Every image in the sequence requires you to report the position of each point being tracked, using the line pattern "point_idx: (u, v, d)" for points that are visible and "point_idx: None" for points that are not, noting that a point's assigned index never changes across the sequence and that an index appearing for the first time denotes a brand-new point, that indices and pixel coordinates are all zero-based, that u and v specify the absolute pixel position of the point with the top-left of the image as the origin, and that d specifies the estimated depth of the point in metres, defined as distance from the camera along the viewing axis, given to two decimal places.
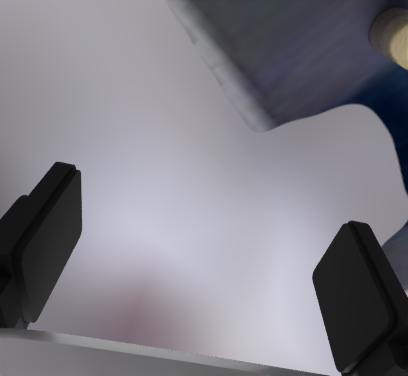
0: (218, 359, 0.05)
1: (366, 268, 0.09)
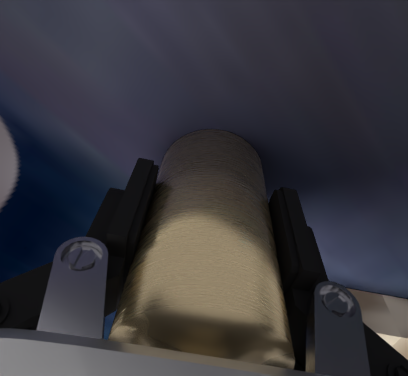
0: (218, 359, 0.05)
1: (283, 226, 0.10)
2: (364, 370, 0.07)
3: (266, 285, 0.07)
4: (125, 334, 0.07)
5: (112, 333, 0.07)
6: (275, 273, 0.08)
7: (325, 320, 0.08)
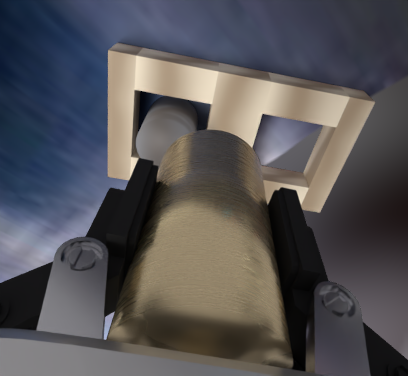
0: (218, 359, 0.05)
1: (283, 226, 0.10)
2: (364, 370, 0.07)
3: (264, 285, 0.08)
4: (123, 334, 0.07)
5: (110, 333, 0.07)
6: (273, 273, 0.08)
7: (325, 320, 0.08)
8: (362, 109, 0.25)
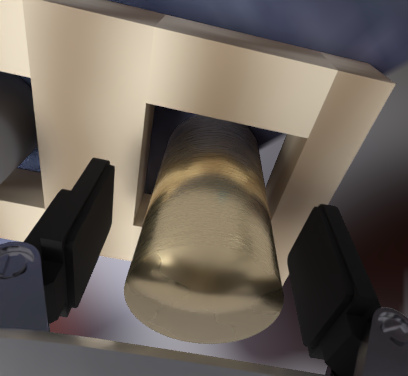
0: (218, 359, 0.05)
1: (330, 246, 0.10)
2: None
3: (259, 234, 0.09)
4: (141, 273, 0.08)
5: (130, 272, 0.08)
6: (268, 228, 0.10)
7: (380, 344, 0.07)
8: (365, 100, 0.11)
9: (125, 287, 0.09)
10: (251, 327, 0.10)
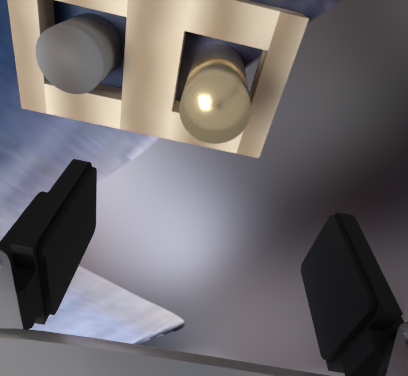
0: (218, 359, 0.05)
1: (350, 257, 0.10)
2: None
3: (240, 80, 0.20)
4: (188, 93, 0.19)
5: (183, 93, 0.19)
6: (245, 83, 0.21)
7: (404, 358, 0.07)
8: (295, 28, 0.22)
9: (180, 103, 0.20)
10: (237, 130, 0.21)
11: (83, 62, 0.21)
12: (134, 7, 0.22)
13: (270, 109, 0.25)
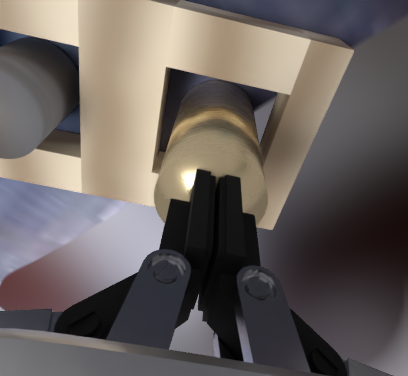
0: (218, 359, 0.05)
1: (219, 211, 0.10)
2: (271, 351, 0.07)
3: (251, 152, 0.12)
4: (167, 177, 0.12)
5: (159, 177, 0.12)
6: (257, 153, 0.13)
7: (253, 310, 0.08)
8: (332, 63, 0.14)
9: (155, 190, 0.12)
10: None
11: (10, 117, 0.14)
12: (89, 32, 0.14)
13: (290, 171, 0.18)
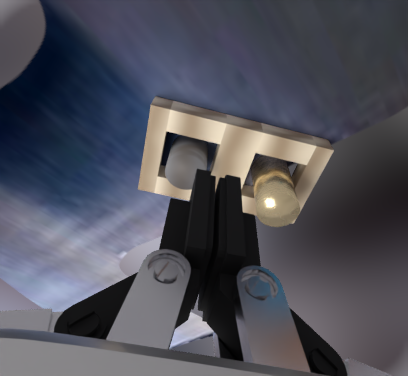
0: (218, 359, 0.05)
1: (219, 211, 0.10)
2: (271, 351, 0.07)
3: (294, 192, 0.33)
4: (264, 201, 0.33)
5: (261, 201, 0.33)
6: (295, 192, 0.34)
7: (253, 310, 0.08)
8: (325, 154, 0.35)
9: (258, 206, 0.33)
10: (290, 220, 0.34)
11: (194, 173, 0.35)
12: (226, 139, 0.35)
13: (304, 196, 0.39)
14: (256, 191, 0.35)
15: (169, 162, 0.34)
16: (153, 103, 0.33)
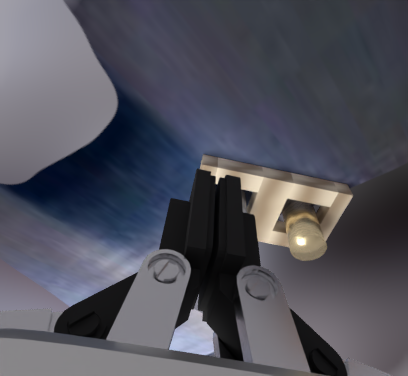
0: (218, 359, 0.05)
1: (219, 211, 0.10)
2: (271, 351, 0.07)
3: (321, 233, 0.40)
4: (296, 241, 0.40)
5: (294, 241, 0.40)
6: None
7: (253, 310, 0.08)
8: (345, 198, 0.42)
9: (291, 245, 0.40)
10: (318, 255, 0.41)
11: None
12: (263, 189, 0.42)
13: (328, 231, 0.46)
14: (289, 231, 0.42)
15: None
16: (203, 162, 0.41)
